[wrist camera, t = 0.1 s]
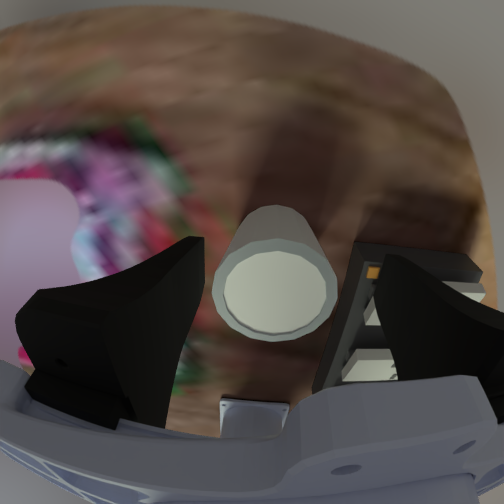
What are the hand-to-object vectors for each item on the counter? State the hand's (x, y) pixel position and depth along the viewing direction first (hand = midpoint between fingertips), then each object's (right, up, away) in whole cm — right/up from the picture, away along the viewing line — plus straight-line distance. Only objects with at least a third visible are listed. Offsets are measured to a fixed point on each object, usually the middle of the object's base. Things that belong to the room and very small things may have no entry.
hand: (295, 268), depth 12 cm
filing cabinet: (+11, -7, +14) cm, 19 cm away
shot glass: (0, +2, +11) cm, 11 cm away
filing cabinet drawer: (+11, -9, +11) cm, 17 cm away
